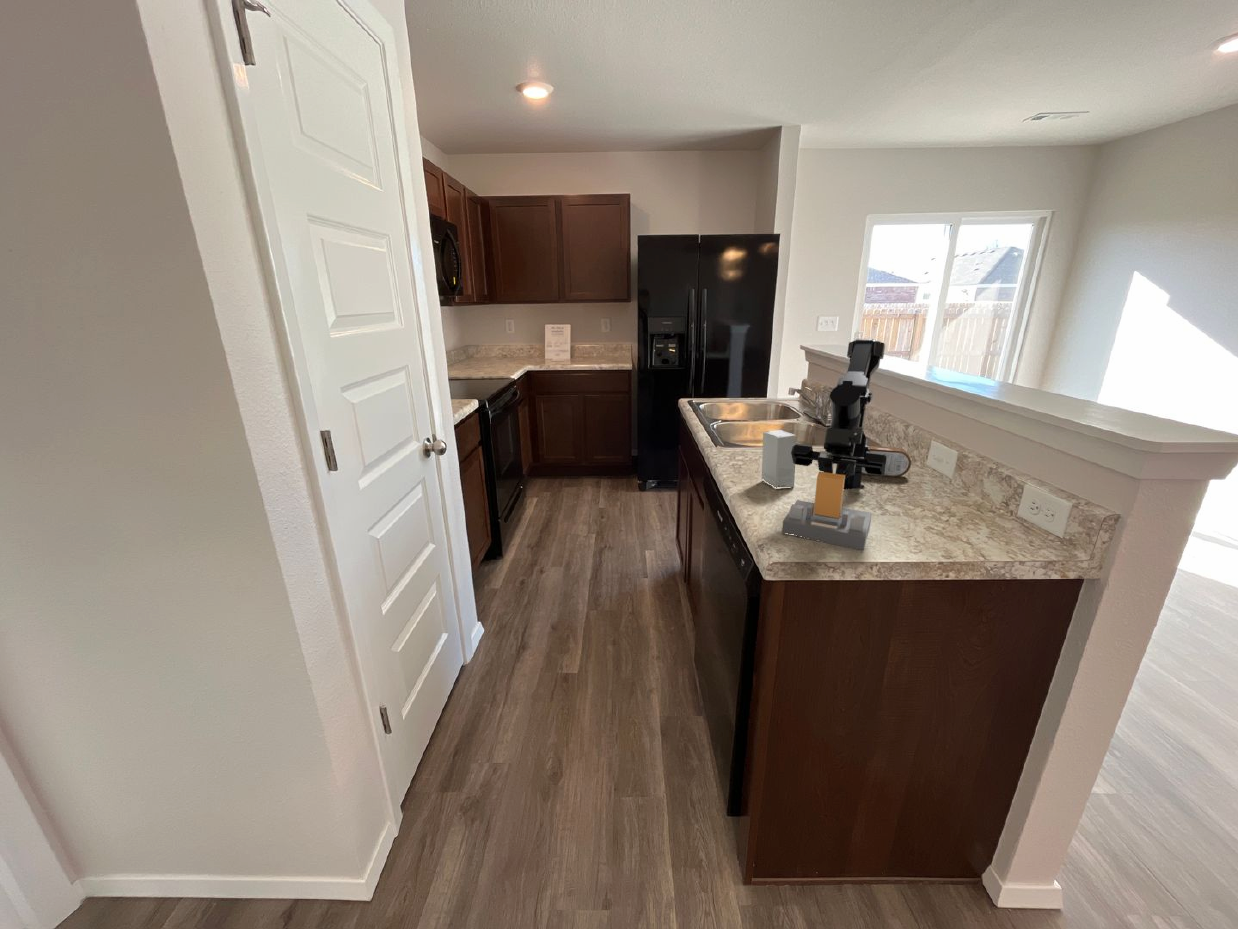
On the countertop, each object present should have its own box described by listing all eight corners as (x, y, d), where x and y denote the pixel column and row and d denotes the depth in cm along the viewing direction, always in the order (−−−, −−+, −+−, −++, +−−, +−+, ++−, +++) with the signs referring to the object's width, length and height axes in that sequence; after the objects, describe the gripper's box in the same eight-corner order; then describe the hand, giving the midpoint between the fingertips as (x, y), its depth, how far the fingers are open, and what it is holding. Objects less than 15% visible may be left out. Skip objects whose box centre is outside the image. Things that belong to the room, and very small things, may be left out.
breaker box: (795, 511, 116) (798, 490, 114) (870, 525, 108) (873, 502, 106) (781, 533, 105) (783, 510, 103) (863, 550, 97) (867, 525, 95)
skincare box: (794, 488, 131) (799, 435, 127) (774, 490, 130) (778, 437, 126) (778, 479, 139) (782, 428, 135) (759, 480, 138) (762, 430, 134)
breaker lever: (815, 511, 106) (819, 471, 102) (840, 516, 103) (845, 475, 99) (813, 517, 104) (817, 476, 100) (838, 521, 101) (843, 480, 97)
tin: (907, 475, 140) (912, 447, 138) (909, 479, 137) (914, 450, 135) (850, 471, 145) (854, 444, 142) (851, 474, 142) (855, 447, 140)
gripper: (796, 408, 106) (780, 470, 101) (893, 415, 97) (881, 485, 92) (801, 433, 115) (786, 492, 110) (890, 442, 106) (878, 507, 100)
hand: (830, 494), depth 103 cm, fingers closed, pressing on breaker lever
